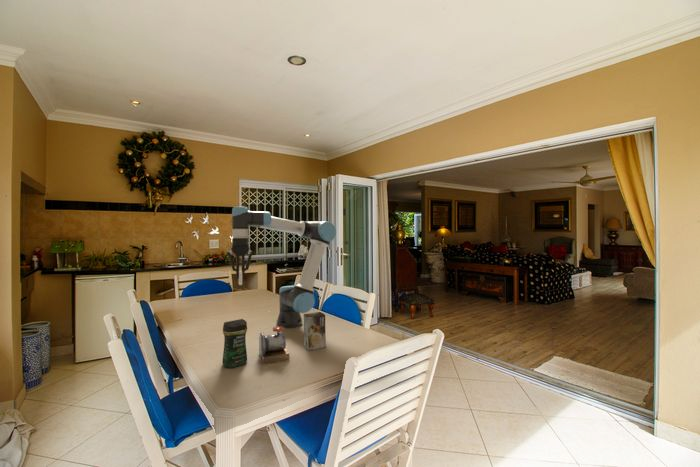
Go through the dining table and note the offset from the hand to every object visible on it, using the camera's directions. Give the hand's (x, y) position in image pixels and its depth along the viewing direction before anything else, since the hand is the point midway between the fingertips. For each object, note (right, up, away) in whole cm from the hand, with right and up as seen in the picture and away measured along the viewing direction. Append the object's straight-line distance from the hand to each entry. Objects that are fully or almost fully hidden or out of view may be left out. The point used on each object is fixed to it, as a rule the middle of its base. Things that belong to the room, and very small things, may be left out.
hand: (240, 284), depth 159 cm
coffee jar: (+6, -30, -24) cm, 39 cm away
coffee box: (+38, -30, -5) cm, 48 cm away
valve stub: (+21, -30, -17) cm, 40 cm away
